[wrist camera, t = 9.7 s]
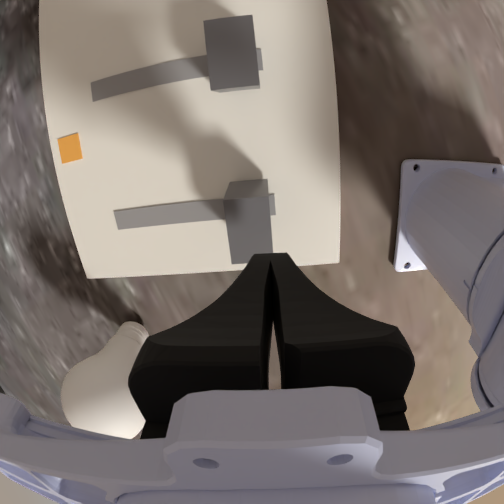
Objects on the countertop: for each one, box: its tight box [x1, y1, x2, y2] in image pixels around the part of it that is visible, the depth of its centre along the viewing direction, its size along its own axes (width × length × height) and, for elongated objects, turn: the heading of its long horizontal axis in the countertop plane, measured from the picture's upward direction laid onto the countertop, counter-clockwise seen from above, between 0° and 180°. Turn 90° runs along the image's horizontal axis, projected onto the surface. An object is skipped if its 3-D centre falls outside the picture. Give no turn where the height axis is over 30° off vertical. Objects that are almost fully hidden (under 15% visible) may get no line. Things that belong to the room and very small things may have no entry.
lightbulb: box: [61, 321, 149, 439], centre depth 20 cm, size 6×6×11 cm
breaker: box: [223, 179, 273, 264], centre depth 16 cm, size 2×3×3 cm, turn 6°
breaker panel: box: [39, 0, 340, 279], centre depth 15 cm, size 17×24×2 cm
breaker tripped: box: [203, 15, 260, 93], centre depth 12 cm, size 2×3×3 cm, turn 5°
